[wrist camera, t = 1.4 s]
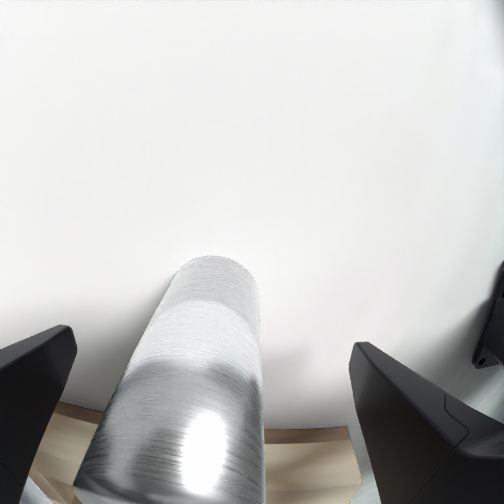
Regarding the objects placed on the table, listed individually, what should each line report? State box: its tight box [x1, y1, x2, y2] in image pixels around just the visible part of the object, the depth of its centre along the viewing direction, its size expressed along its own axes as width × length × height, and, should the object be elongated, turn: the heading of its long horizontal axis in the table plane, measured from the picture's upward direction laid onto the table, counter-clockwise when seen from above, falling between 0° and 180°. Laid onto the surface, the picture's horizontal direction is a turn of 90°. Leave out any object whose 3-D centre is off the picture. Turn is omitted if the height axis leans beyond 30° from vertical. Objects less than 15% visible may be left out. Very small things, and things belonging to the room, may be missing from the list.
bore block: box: [28, 401, 363, 504], centre depth 15 cm, size 20×12×4 cm, turn 88°
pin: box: [72, 256, 266, 504], centre depth 8 cm, size 4×4×9 cm
